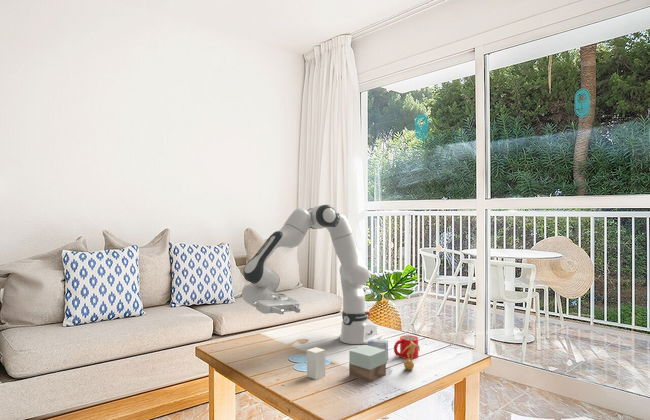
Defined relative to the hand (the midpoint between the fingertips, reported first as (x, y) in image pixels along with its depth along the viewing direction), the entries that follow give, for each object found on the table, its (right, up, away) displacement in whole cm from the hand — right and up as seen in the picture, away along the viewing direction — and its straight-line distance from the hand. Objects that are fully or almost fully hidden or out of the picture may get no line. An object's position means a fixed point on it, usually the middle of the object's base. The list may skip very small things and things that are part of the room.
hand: (290, 311), depth 174 cm
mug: (+49, -23, +12) cm, 56 cm away
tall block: (+11, -22, -10) cm, 27 cm away
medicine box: (+37, -23, +6) cm, 43 cm away
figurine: (+48, -22, -5) cm, 53 cm away
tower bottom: (+30, -22, -10) cm, 39 cm away
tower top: (+30, -17, -10) cm, 37 cm away
